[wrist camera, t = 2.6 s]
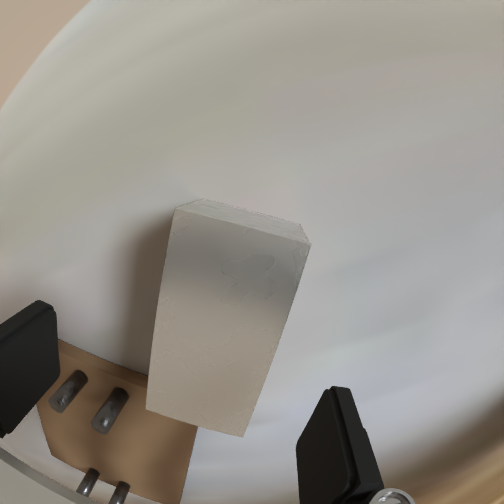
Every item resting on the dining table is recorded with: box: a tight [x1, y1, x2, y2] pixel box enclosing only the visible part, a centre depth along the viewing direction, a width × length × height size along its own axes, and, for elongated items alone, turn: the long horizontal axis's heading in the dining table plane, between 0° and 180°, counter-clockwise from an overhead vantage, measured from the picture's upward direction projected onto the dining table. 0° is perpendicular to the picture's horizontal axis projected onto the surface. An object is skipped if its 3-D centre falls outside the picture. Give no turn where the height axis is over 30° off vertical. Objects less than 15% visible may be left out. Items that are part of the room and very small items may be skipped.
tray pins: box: [48, 370, 131, 504], centre depth 18 cm, size 4×14×4 cm, turn 166°
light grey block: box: [146, 199, 311, 437], centre depth 15 cm, size 5×10×5 cm, turn 165°
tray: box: [36, 339, 198, 504], centre depth 20 cm, size 14×16×1 cm
